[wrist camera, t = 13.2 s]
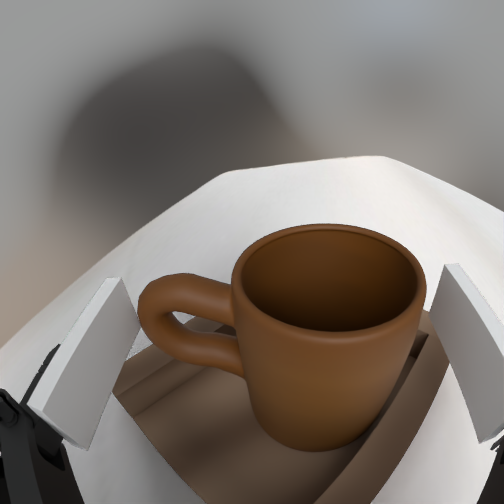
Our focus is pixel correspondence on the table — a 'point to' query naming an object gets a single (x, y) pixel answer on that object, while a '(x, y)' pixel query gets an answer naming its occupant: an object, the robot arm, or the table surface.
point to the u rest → (257, 440)
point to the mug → (301, 328)
